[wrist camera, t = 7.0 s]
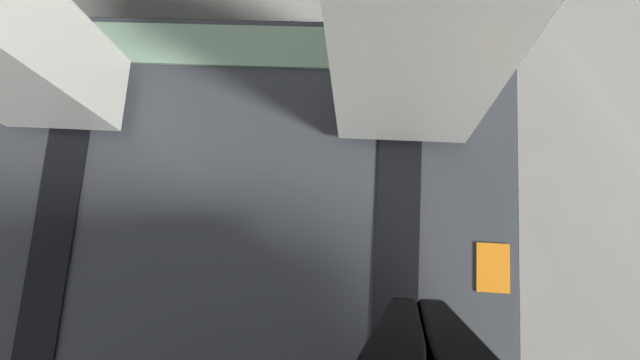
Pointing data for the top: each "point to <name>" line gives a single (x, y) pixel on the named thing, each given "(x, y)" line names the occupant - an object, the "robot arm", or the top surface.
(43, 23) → the block
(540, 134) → the top surface
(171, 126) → the breaker panel
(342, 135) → the block
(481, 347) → the robot arm
